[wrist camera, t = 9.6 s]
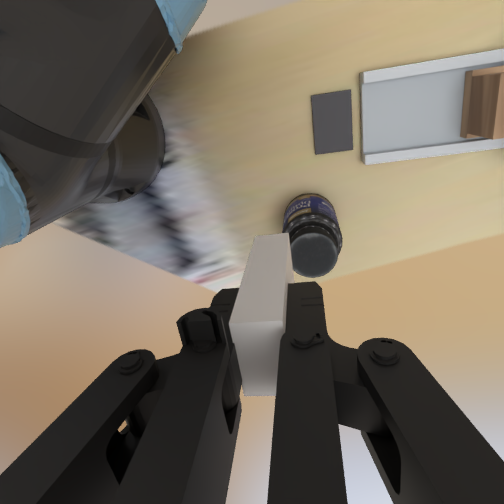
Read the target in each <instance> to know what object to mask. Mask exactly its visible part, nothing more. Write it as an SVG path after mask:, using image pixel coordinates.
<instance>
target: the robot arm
mask: <svg viewBox="0 0 504 504" xmlns="http://www.w3.org/2000/svg"><path fill="white" fill-rule="evenodd" d="M206 3H207V0H0V248H1V247H4V246H6V245H10V244H14V243H18V242H20V241H21V240H22V239H23V238H24V237H26V236H27V235H29V234H31V233H32V232H34V231H36V230H38V229H40V228H42V227H44V226H46V225H47V224H49V223H51V222H53V221H55V220H57V219H59V218H60V217H62V216H64V215H66V214H68V213H70V212H72V211H74V210H75V209H77V208H79V207H81V206H83V205H85V204H87V203H116V202H120V201H124V200H127V199H129V198H131V197H133V196H135V195H137V194H138V193H140V192H142V191H143V190H144V189H146V188H147V187H148V186H149V185H150V184H151V183H152V182H153V181H154V179H155V178H156V176H157V175H158V173H159V171H160V169H161V166H162V163H163V159H164V153H165V136H164V130H163V125H162V122H161V119H160V116H159V114H158V111H157V109H156V107H155V105H154V104H153V102H152V100H151V99H150V97H149V96H148V95H147V93H148V92H149V90H150V89H151V87H152V86H153V85H154V83H155V82H156V80H157V79H158V78H159V76H160V75H161V73H162V72H163V70H164V69H165V68H166V66H167V65H168V63H169V62H170V61H171V59H172V58H173V56H174V55H175V54H176V53H177V54H179V53H180V52H181V51H182V48H183V45H182V43H183V41H184V39H185V38H186V36H187V35H188V33H189V31H190V30H191V28H192V27H193V25H194V24H195V22H196V21H197V19H198V17H199V16H200V14H201V13H202V11H203V9H204V8H205V5H206ZM176 323H177V327H178V330H179V334H180V337H181V341H182V344H183V347H182V349H181V351H180V353H179V354H176V355H173V356H170V357H166V358H162V359H159V360H156V359H155V356H154V355H153V353H152V352H151V351H148V350H145V349H144V350H141V349H140V350H134V351H130V352H128V353H126V354H123V355H121V356H120V357H118V358H117V359H116V360H115V361H113V362H112V363H111V364H110V365H109V366H108V367H107V368H106V369H105V370H104V371H103V372H102V373H101V374H100V375H99V376H98V377H97V378H96V379H95V380H94V382H92V383H91V385H89V386H88V387H87V389H86V390H84V392H82V394H80V396H79V397H77V399H75V400H74V401H73V402H72V404H71V405H70V406H69V407H68V408H67V409H66V410H65V411H64V412H63V413H62V414H61V415H60V416H59V417H58V418H57V419H56V420H55V421H54V422H53V423H52V424H51V425H50V426H49V427H48V428H47V429H46V430H45V431H44V432H43V433H42V434H41V435H40V436H39V437H38V438H37V439H36V440H35V441H34V442H33V443H32V444H31V445H30V446H29V447H28V448H27V449H26V450H25V451H24V452H23V453H22V454H21V455H20V456H19V457H18V458H17V459H16V460H15V461H14V462H13V463H12V464H11V465H10V466H9V467H8V468H7V469H6V470H5V471H4V472H3V473H2V474H1V475H0V504H225V502H226V497H227V491H228V485H229V480H230V474H231V468H232V462H233V457H234V451H235V445H236V440H237V434H238V429H239V422H240V417H241V411H242V409H241V401H240V397H239V395H240V389H241V385H242V388H243V393H244V396H276V399H275V413H274V424H273V437H272V450H271V462H270V476H269V488H268V500H267V504H348V503H347V494H346V486H345V477H344V469H343V460H342V451H341V444H340V435H339V426H338V424H341V425H344V426H348V427H351V428H355V429H358V430H361V435H362V437H363V439H364V441H365V443H366V446H367V448H368V450H369V452H370V454H371V456H372V458H373V461H374V463H375V465H376V467H377V469H378V471H379V473H380V476H381V478H382V480H383V482H384V484H385V486H386V488H387V491H388V493H389V495H390V497H391V499H392V501H393V503H394V504H504V461H503V460H502V459H501V458H500V457H499V455H498V454H497V453H496V452H495V450H494V449H493V448H492V447H491V446H490V444H489V443H488V442H487V441H486V440H485V438H484V437H483V436H482V435H481V434H480V432H479V431H478V430H477V429H476V428H475V427H474V425H473V424H472V423H471V422H470V420H469V419H468V418H467V417H466V416H465V414H464V413H463V412H462V411H461V410H460V408H459V407H458V406H457V405H456V404H455V402H454V401H453V400H452V399H451V398H450V396H449V395H448V394H447V393H446V392H445V390H444V389H443V388H442V387H441V386H440V384H439V383H438V382H437V381H436V380H435V378H434V377H433V376H432V375H431V373H430V372H429V371H428V370H427V369H426V367H425V366H424V365H423V364H422V363H421V361H420V360H419V359H418V358H417V357H416V355H415V354H414V353H413V352H412V351H411V349H409V348H408V347H407V346H406V345H404V344H403V343H401V342H399V341H396V340H394V339H388V338H373V339H370V340H367V341H365V342H363V343H362V344H361V345H360V346H359V348H358V349H354V348H349V347H345V346H342V345H340V344H338V343H336V342H334V341H333V340H332V339H331V338H330V337H329V335H328V333H327V328H326V320H325V312H324V303H323V294H322V288H321V287H320V286H319V285H318V284H317V283H316V282H315V281H314V282H301V283H294V275H293V266H292V258H291V249H290V241H289V233H280V234H270V235H260V236H255V238H254V242H253V245H252V248H251V252H250V255H249V258H248V261H247V265H246V268H245V271H244V275H243V278H242V281H241V285H240V288H231V289H222V290H221V291H220V292H218V293H217V294H216V296H214V298H213V300H212V303H211V306H210V307H209V308H201V309H196V310H193V311H190V312H188V313H186V314H185V315H183V316H182V317H180V319H179V320H178V321H177V322H176ZM124 420H125V421H126V423H127V426H126V427H125V428H124V429H123V430H122V431H121V432H119V431H118V428H119V427H120V426H121V424H122V423H123V422H124Z"/></svg>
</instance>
